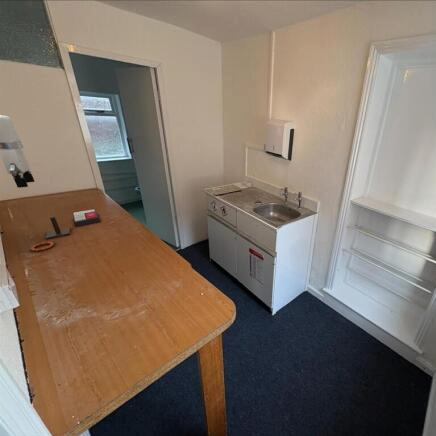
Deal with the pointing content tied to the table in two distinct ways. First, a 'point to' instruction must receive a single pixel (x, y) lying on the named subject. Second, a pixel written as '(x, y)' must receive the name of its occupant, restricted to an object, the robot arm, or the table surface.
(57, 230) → the post
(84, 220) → the calculator
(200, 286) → the table surface
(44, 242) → the orange ring
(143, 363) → the table surface
